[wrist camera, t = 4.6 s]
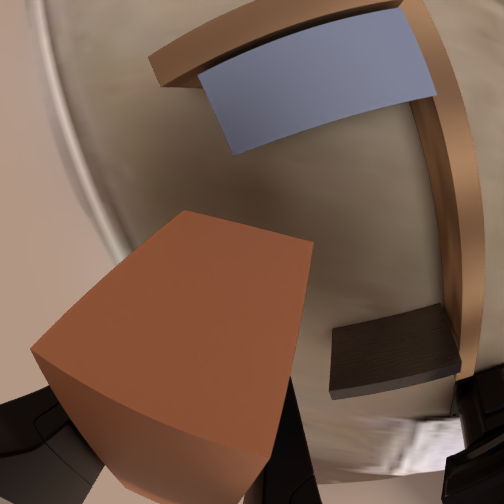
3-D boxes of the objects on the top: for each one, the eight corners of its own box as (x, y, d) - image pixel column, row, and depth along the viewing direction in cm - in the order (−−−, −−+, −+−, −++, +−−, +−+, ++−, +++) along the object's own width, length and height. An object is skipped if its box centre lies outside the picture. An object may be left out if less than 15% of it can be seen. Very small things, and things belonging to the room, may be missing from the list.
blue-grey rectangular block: (401, 96, 13) (437, 95, 8) (262, 139, 16) (233, 156, 11) (377, 36, 11) (400, 7, 7) (237, 82, 14) (197, 75, 10)
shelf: (459, 336, 18) (478, 391, 13) (325, 367, 22) (319, 424, 18) (391, 2, 10) (417, -37, 5) (200, 66, 14) (148, 57, 9)
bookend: (440, 342, 19) (455, 399, 14) (343, 364, 22) (341, 422, 17) (440, 303, 17) (461, 361, 13) (332, 329, 20) (328, 391, 16)
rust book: (313, 242, 7) (270, 457, 3) (259, 408, 11) (220, 524, 7) (184, 209, 8) (29, 348, 3) (181, 383, 12) (125, 487, 7)
